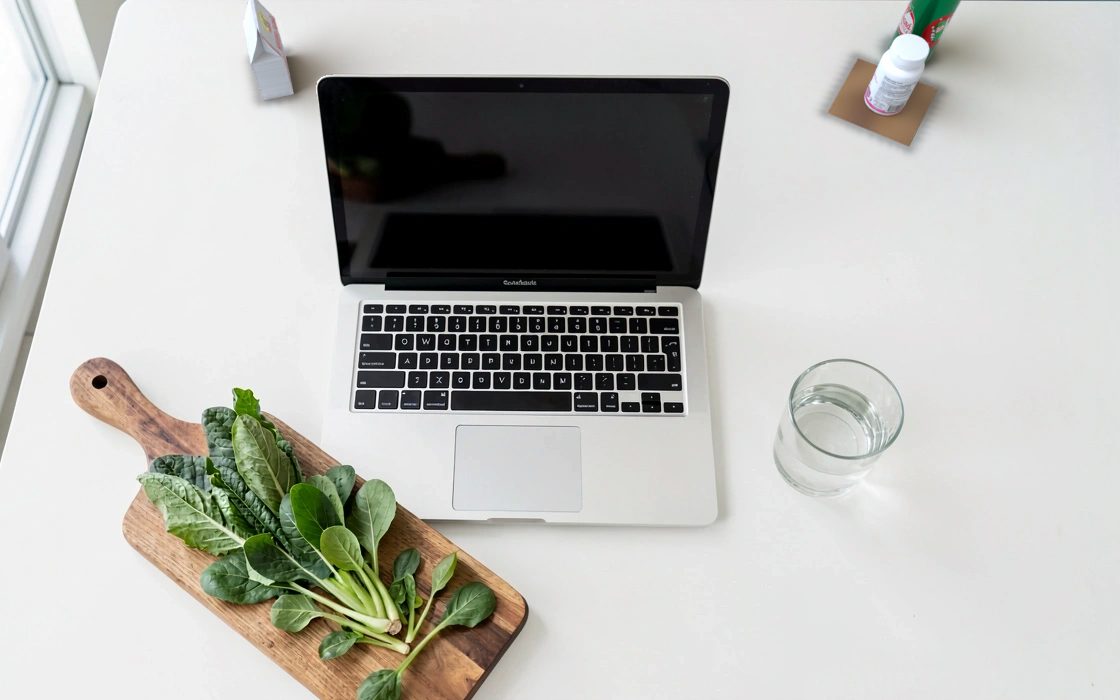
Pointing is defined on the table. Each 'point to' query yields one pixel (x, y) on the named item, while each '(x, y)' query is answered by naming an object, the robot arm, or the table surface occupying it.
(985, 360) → the table surface
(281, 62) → the milk carton
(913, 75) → the pill bottle
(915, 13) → the soda can
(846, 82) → the coaster
